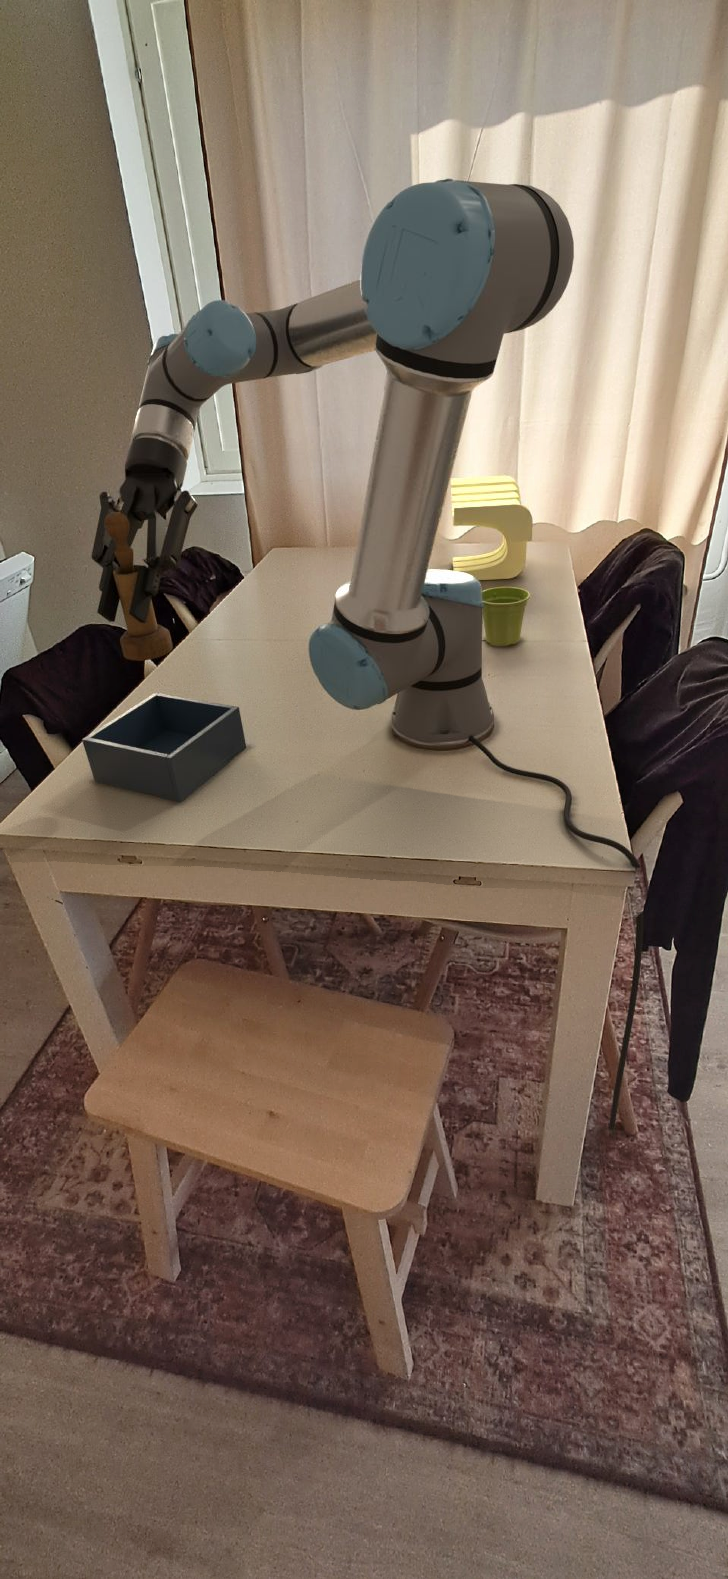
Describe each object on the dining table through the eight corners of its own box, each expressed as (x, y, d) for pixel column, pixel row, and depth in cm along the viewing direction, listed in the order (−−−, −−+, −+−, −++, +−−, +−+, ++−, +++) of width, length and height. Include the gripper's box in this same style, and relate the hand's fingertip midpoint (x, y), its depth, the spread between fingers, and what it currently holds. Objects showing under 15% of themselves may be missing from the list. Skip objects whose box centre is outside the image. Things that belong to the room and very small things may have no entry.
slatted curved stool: (529, 589, 164) (533, 503, 155) (455, 593, 166) (453, 508, 156) (516, 550, 189) (519, 474, 180) (452, 554, 191) (450, 478, 181)
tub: (246, 747, 114) (239, 706, 110) (180, 802, 102) (170, 758, 99) (165, 731, 120) (155, 692, 117) (94, 781, 109) (81, 739, 105)
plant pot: (470, 648, 139) (470, 602, 135) (484, 629, 146) (484, 585, 142) (522, 652, 136) (523, 605, 131) (533, 633, 143) (535, 587, 138)
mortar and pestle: (160, 661, 100) (125, 519, 90) (115, 661, 101) (76, 521, 91) (180, 642, 105) (149, 505, 95) (137, 642, 106) (103, 507, 97)
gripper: (229, 468, 102) (195, 632, 98) (119, 471, 107) (82, 627, 103) (203, 431, 95) (165, 606, 91) (87, 436, 100) (46, 602, 96)
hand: (121, 617), depth 97 cm, fingers closed on mortar and pestle, 4 cm apart
